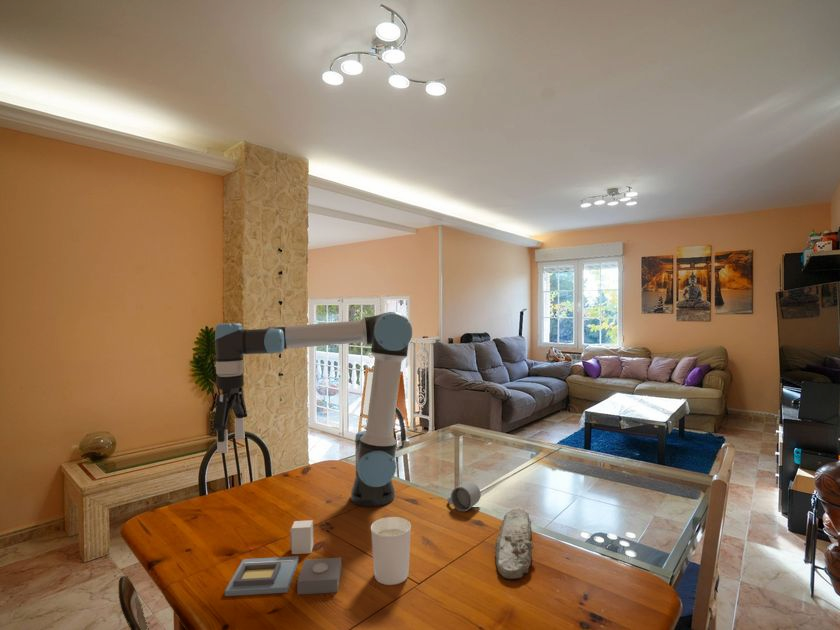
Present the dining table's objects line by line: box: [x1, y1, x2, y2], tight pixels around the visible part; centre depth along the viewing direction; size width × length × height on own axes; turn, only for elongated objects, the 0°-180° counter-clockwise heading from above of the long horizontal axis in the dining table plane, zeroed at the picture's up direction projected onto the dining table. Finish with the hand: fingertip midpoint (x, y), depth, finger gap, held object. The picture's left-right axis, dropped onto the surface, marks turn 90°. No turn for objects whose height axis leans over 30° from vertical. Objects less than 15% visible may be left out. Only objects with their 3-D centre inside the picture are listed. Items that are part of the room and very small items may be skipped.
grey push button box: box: [296, 557, 342, 595], centre depth 105 cm, size 9×9×3 cm
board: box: [224, 555, 300, 597], centre depth 107 cm, size 14×13×2 cm
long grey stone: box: [494, 508, 534, 580], centre depth 121 cm, size 35×5×10 cm
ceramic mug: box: [447, 481, 482, 513], centre depth 146 cm, size 11×8×8 cm
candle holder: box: [370, 516, 412, 586], centre depth 107 cm, size 10×10×12 cm
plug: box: [288, 519, 314, 555], centre depth 120 cm, size 6×4×7 cm
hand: (231, 445), depth 132 cm, fingers open, 13 cm apart
